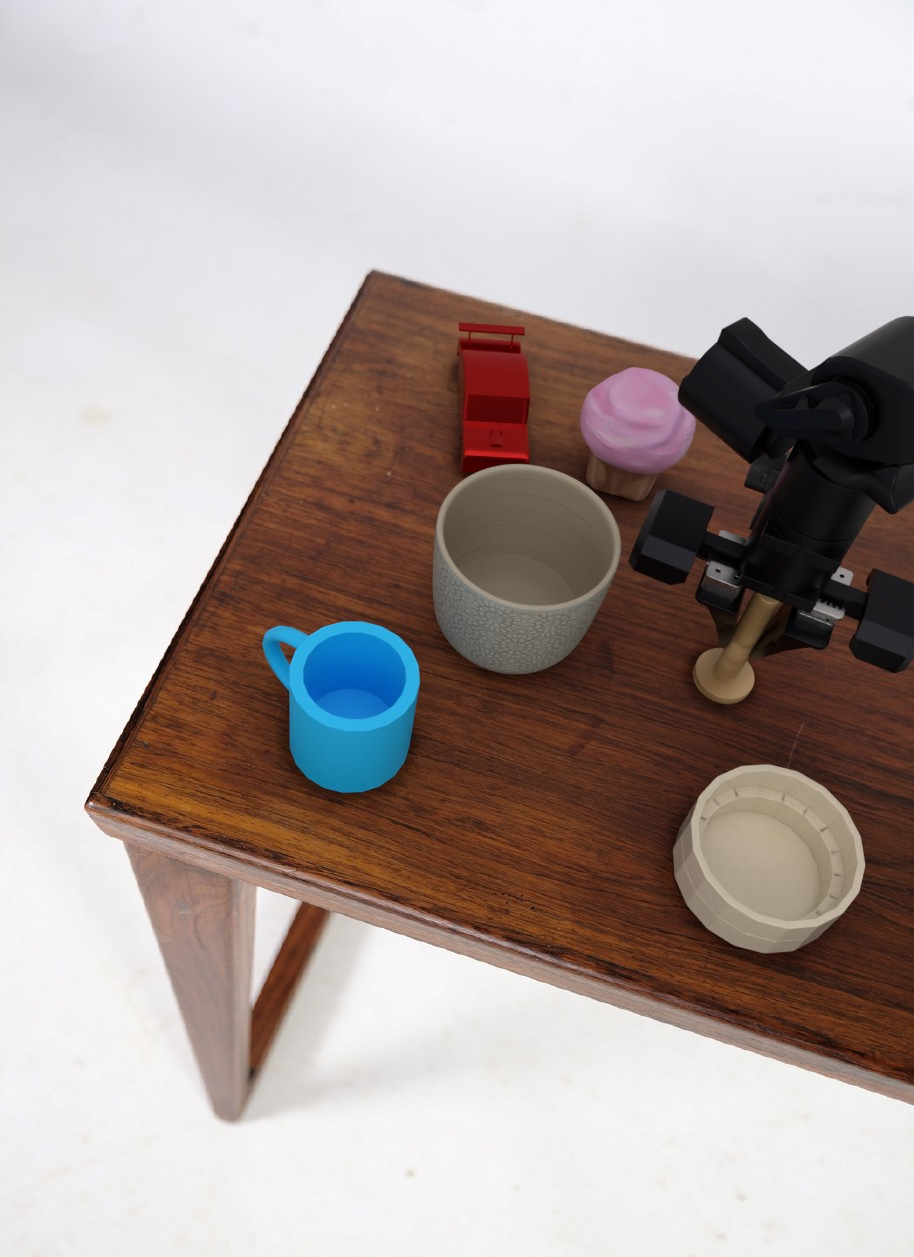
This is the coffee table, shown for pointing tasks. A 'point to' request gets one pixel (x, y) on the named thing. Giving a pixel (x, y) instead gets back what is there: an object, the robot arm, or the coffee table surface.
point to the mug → (347, 701)
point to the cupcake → (634, 431)
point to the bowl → (768, 858)
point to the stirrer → (734, 655)
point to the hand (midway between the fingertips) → (738, 648)
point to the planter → (521, 566)
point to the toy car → (492, 398)
